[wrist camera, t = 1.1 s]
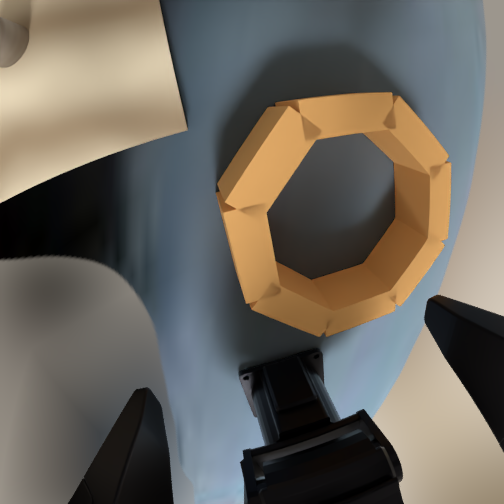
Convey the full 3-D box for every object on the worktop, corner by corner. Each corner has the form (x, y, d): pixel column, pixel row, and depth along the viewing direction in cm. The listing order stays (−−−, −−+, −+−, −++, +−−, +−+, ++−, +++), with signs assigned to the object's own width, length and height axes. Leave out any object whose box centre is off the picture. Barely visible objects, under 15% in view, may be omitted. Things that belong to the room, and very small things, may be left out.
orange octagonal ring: (412, 267, 21) (440, 290, 18) (249, 320, 20) (260, 357, 17) (408, 91, 15) (446, 92, 12) (197, 118, 14) (200, 119, 11)
